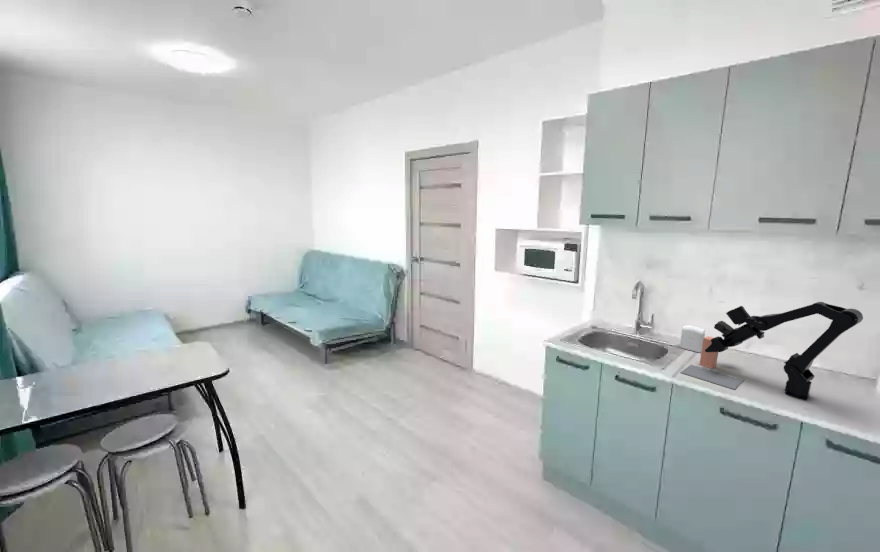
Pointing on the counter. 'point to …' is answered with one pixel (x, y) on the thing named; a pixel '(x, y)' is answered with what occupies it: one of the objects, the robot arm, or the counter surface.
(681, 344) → the photo printer
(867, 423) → the counter surface
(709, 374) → the mat
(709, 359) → the card box
